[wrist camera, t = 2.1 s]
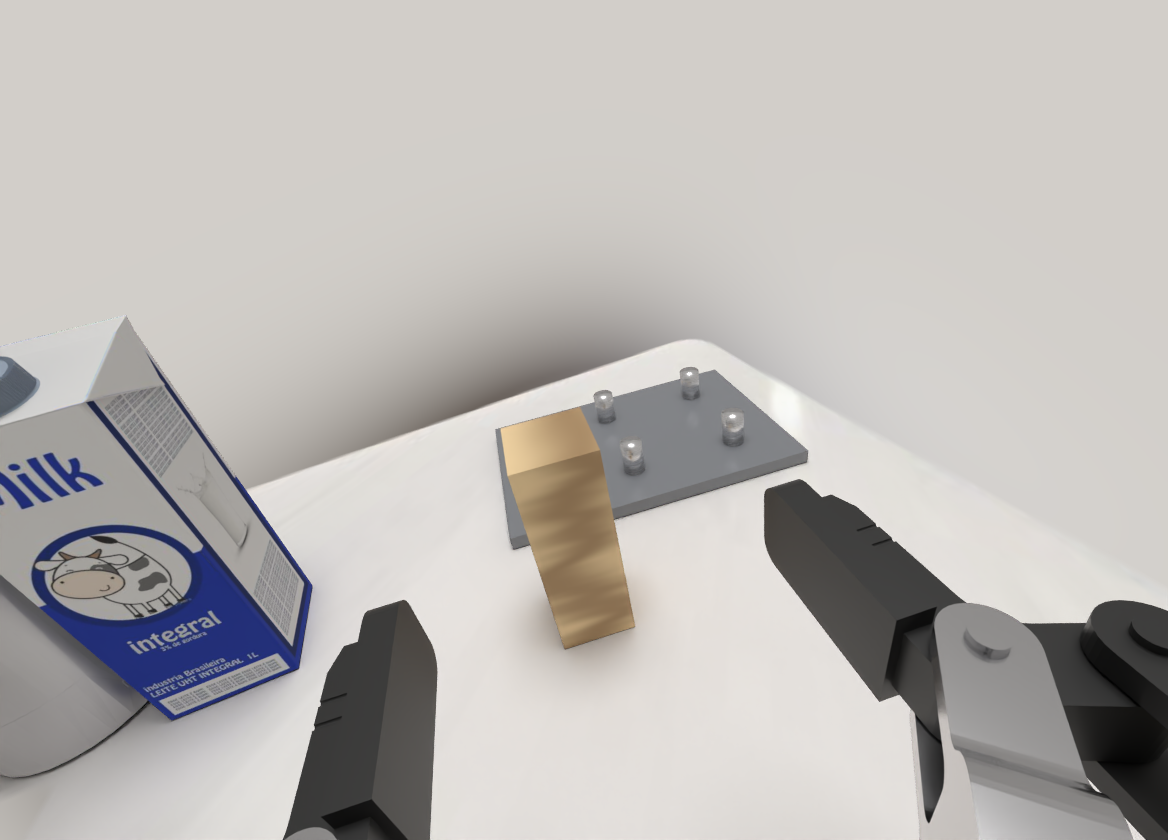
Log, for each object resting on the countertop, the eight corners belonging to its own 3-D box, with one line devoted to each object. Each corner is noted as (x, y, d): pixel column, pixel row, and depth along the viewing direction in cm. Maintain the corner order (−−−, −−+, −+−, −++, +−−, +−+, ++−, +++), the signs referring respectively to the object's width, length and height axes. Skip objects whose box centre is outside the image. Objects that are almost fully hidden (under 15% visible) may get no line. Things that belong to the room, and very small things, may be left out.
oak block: (564, 649, 26) (507, 476, 20) (552, 591, 30) (500, 428, 24) (635, 626, 27) (600, 449, 21) (615, 572, 30) (579, 406, 24)
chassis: (513, 549, 33) (499, 511, 32) (498, 438, 46) (487, 406, 44) (807, 461, 36) (810, 421, 34) (715, 378, 48) (713, 346, 47)
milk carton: (315, 584, 34) (125, 309, 24) (302, 667, 28) (46, 355, 18) (204, 626, 32) (-50, 353, 22) (167, 723, 27) (-196, 417, 17)
